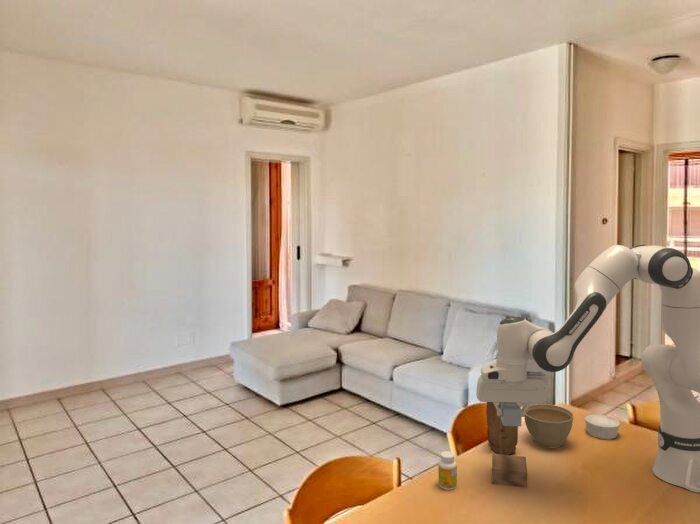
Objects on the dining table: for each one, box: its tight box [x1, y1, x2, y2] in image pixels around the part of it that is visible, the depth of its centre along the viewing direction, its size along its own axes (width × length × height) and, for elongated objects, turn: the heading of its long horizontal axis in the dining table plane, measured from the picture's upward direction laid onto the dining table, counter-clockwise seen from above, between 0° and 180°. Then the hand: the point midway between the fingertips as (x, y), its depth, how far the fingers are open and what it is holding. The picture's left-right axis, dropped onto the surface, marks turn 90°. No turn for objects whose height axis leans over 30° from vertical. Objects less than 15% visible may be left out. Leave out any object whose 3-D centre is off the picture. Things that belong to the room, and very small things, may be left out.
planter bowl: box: [524, 403, 575, 449], centre depth 179 cm, size 16×16×11 cm
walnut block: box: [491, 453, 528, 489], centre depth 157 cm, size 10×10×5 cm
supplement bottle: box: [437, 450, 458, 491], centre depth 153 cm, size 5×5×10 cm
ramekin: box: [584, 414, 621, 440], centre depth 185 cm, size 11×11×5 cm
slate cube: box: [501, 403, 522, 427], centre depth 154 cm, size 5×5×5 cm
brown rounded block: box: [485, 402, 519, 455], centre depth 175 cm, size 11×8×20 cm
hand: (510, 415), depth 155 cm, fingers closed on slate cube, 5 cm apart
